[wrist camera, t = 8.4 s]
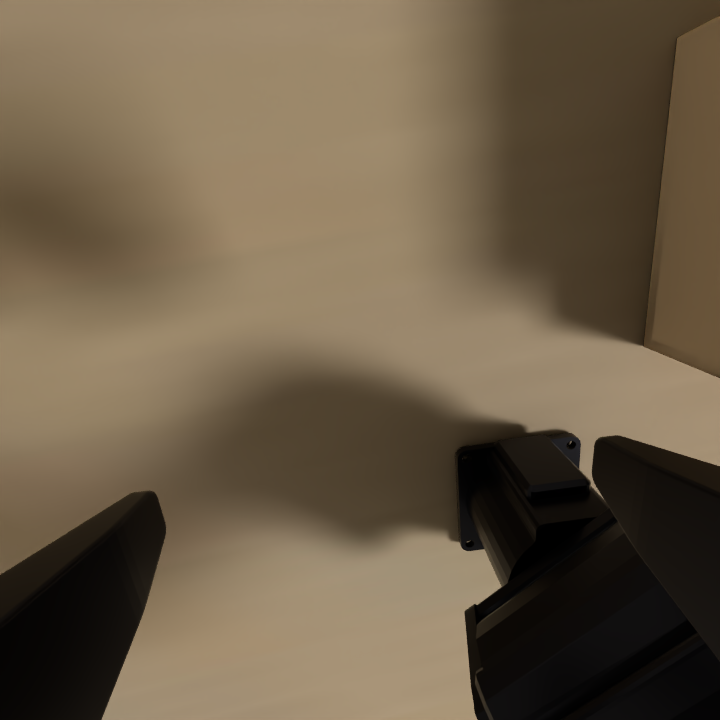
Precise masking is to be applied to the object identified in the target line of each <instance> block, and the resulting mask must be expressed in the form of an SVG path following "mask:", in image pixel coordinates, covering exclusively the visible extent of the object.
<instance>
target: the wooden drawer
mask: <svg viewBox="0 0 720 720" xmlns="http://www.w3.org/2000/svg"><path fill="white" fill-rule="evenodd" d="M643 346H644V347H646V348H649V349H651V350H653V351H656V352H658V353H661V354H663V355H665V356H668V357H670V358H673V359H675V360H677V361H680V362H682V363H685V364H687V365H689V366H692V367H694V368H697V369H699V370H701V371H704V372H706V373H709V374H711V375H713V376H716V377H718V378H720V16H718V17H716V18H714V19H712V20H710V21H708V22H706V23H704V24H702V25H701V26H699V27H697V28H695V29H693V30H691V31H689V32H687V33H685V34H683V35H681V36H680V37H678V38H677V45H676V54H675V63H674V72H673V81H672V90H671V99H670V109H669V118H668V127H667V136H666V145H665V154H664V163H663V172H662V181H661V190H660V199H659V209H658V218H657V227H656V236H655V245H654V254H653V263H652V272H651V281H650V290H649V299H648V308H647V318H646V327H645V336H644V345H643Z"/></svg>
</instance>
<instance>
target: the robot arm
mask: <svg viewBox="0 0 720 720" xmlns="http://www.w3.org/2000/svg"><path fill="white" fill-rule="evenodd" d="M570 441H572V442H571V444H570V445H568V446H566V445H567V443H568V442H570ZM580 447H581V443H580V440H579V439H578V438H577V437H576V436H575V435H574V434H572V433H565V434H557V435H549V436H545V435H536V436H529V437H521V438H513V439H506V440H499V441H497V442H495V443H488V444H480V445H472V446H465V447H461V448H460V449H458V450H457V452H456V455H455V461H456V483H457V506H458V528H459V541H460V544H461V547H462V548H463V549H464V550H466V551H473V550H481V549H485V551H486V553H487V556H488V558H489V560H490V562H491V564H492V567H493V569H494V571H495V573H496V575H497V578H498V580H499V582H500V584H501V586H502V587H501V588H500V589H498V590H497V591H496V592H494V593H493V594H492V595H490V596H489V597H488V598H486V599H485V600H484V601H482V602H481V603H480V604H478V605H476V604H474V605H472V606H471V607H470V608H468V609H467V610H466V611H465V622H466V633H467V645H468V656H469V668H470V679H471V689H472V695H473V700H474V710H475V714H476V717H477V719H478V720H720V466H717V465H713V464H710V463H707V462H704V461H700V460H697V459H694V458H691V457H687V456H684V455H681V454H678V453H674V452H671V451H668V450H665V449H661V448H658V447H655V446H652V445H648V444H645V443H642V442H639V441H635V440H632V439H629V438H626V437H622V436H618V435H614V436H606V437H600V438H598V439H597V440H596V442H595V445H594V455H593V465H592V477H593V481H594V483H595V485H596V487H597V488H598V490H599V492H600V493H601V495H602V497H603V498H604V499H603V498H602V497H601V496H600V495H599V494H598V493H597V492H596V491H595V490H594V489H593V488H592V487H591V482H590V480H589V479H588V478H587V477H586V476H585V475H584V474H583V473H582V472H581V471H580V470H579V462H580ZM464 455H469V457H468V458H466V459H462V457H463V456H464ZM165 535H166V524H165V520H164V517H163V514H162V510H161V507H160V504H159V500H158V497H157V495H156V494H155V492H153V491H142V492H134V493H131V494H129V495H127V496H126V497H124V498H122V499H121V500H119V501H118V502H116V503H114V504H113V505H111V506H110V507H108V508H106V509H105V510H103V511H102V512H100V513H98V514H97V515H95V516H94V517H92V518H90V519H89V520H87V521H86V522H84V523H83V524H81V525H79V526H78V527H76V528H75V529H73V530H71V531H70V532H68V533H67V534H65V535H63V536H62V537H60V538H59V539H57V540H55V541H54V542H52V543H51V544H49V545H47V546H46V547H44V548H43V549H41V550H39V551H38V552H36V553H35V554H33V555H31V556H30V557H28V558H27V559H25V560H23V561H22V562H20V563H19V564H17V565H15V566H14V567H12V568H11V569H9V570H7V571H6V572H4V573H3V574H1V575H0V720H102V717H103V714H104V712H105V709H106V707H107V704H108V702H109V699H110V697H111V694H112V692H113V689H114V687H115V684H116V682H117V679H118V676H119V674H120V671H121V669H122V666H123V664H124V661H125V659H126V656H127V654H128V651H129V649H130V646H131V644H132V641H133V638H134V636H135V633H136V631H137V628H138V626H139V623H140V620H141V618H142V615H143V612H144V609H145V606H146V603H147V600H148V596H149V593H150V589H151V586H152V582H153V579H154V575H155V571H156V568H157V564H158V561H159V557H160V554H161V550H162V547H163V543H164V539H165ZM469 540H471V541H470V542H467V541H469Z"/></svg>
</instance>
